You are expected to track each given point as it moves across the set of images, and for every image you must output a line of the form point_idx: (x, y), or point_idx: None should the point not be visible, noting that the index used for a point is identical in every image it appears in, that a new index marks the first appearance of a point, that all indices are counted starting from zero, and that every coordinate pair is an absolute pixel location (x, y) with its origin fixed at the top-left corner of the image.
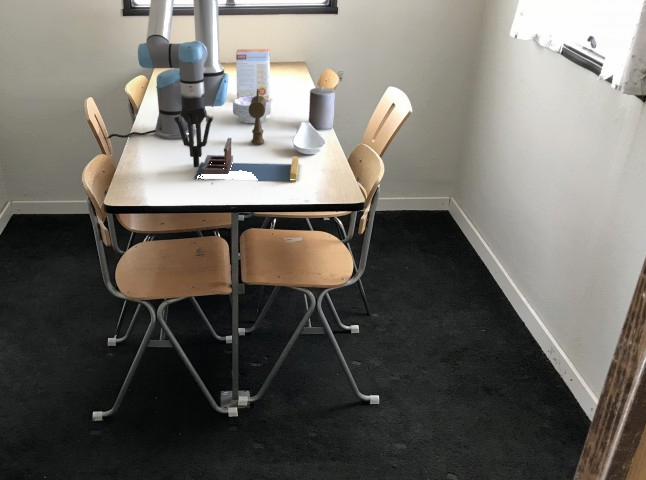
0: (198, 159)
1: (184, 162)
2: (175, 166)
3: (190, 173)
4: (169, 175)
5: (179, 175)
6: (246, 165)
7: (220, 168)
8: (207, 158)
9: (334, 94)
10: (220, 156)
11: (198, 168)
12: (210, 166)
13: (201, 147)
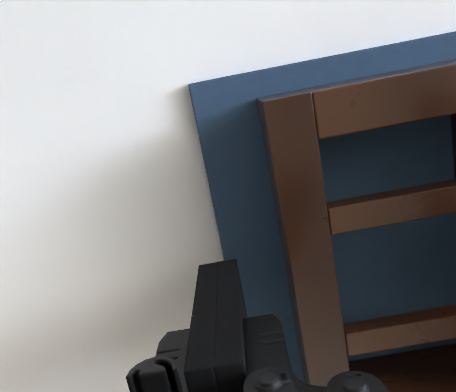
0: (243, 311)
1: (42, 106)
2: (15, 213)
3: (191, 315)
4: (61, 382)
5: (129, 366)
6: None
7: (398, 185)
8: (297, 198)
9: None
10: (413, 107)
11: (221, 230)
12: (371, 348)
13: (292, 372)
